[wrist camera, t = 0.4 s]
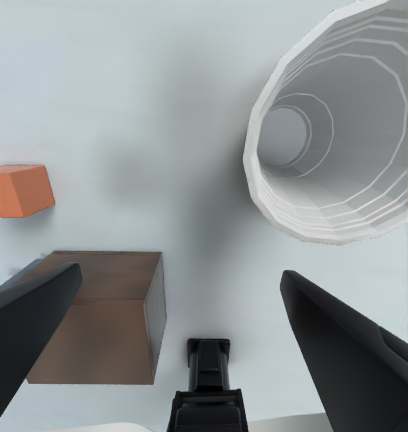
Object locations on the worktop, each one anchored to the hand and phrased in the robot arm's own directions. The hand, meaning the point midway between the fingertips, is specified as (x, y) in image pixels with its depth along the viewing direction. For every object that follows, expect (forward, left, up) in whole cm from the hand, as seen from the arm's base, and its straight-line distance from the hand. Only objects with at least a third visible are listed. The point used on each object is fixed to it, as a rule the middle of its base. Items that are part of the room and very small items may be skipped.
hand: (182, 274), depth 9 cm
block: (0, +18, -14) cm, 23 cm away
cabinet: (-14, +11, -14) cm, 22 cm away
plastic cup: (+5, -8, -14) cm, 17 cm away
